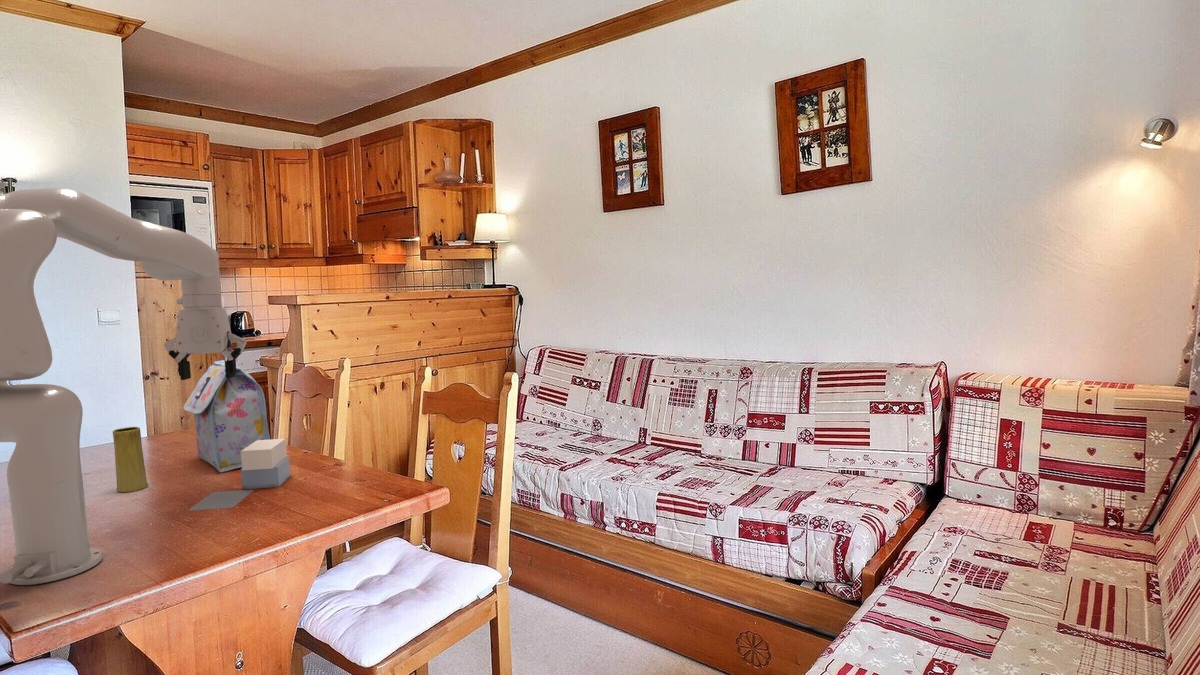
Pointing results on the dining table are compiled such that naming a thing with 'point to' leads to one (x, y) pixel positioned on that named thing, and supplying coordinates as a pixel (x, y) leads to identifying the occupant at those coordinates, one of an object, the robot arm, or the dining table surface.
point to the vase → (129, 460)
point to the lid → (263, 454)
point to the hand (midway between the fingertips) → (208, 378)
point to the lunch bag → (227, 416)
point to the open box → (266, 476)
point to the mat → (221, 500)
